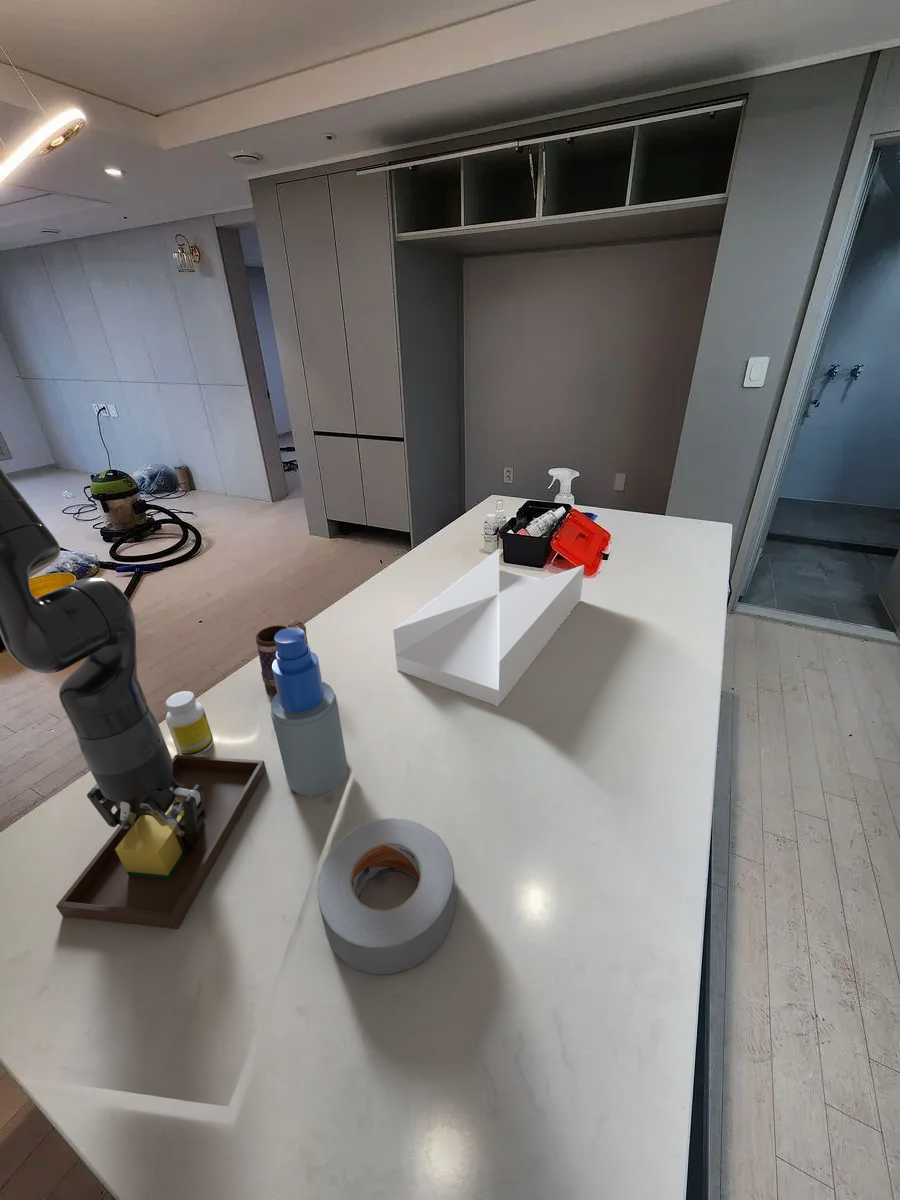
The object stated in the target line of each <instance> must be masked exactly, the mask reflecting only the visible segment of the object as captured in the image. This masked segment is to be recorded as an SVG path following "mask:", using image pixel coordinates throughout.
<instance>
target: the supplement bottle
mask: <svg viewBox="0 0 900 1200" xmlns="http://www.w3.org/2000/svg"><path fill="white" fill-rule="evenodd" d="M165 706H166V709H167V713H166V715H165V721H166V724H167V728H168V729H169V732H170V735H171V738H172V740H173V744H174V746H175V749H176V752H177V754H178V755H185V756H198V755H200V754H202V753H204V752H205V751H207V750H210V748H211V747H212V746H213V743H214V736H213V733H212V731H211V727H210V724H209V720H208V718H207V715H206V712H205V709H204V706H203V705H202V704H201V703H200V702H198V701H197V700H196V696H195V694H194V693H193V692H192V691H189V690H183V691H178V692H175V693H173V694H171V695H170V696H169V697H168V698H167V699H166V701H165Z"/></svg>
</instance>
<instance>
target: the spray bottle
mask: <svg viewBox="0 0 900 1200" xmlns="http://www.w3.org/2000/svg"><path fill="white" fill-rule="evenodd" d="M274 639H275V644H276V648H277V651H276V660H275V661H274V662H273V664H272V671H273V675H274V680H275V684H276V688H277V694H276V695H275V696H274V695H273V697H272V700H271V703H270V716H271V721H272V725H273V730H274V733H275V737H276V741H277V745H278V750H279V754H280V757H281V761H282V765H283V769H284V773H285V778H286V781H287V784H288V786H289V789H291V790H292V791H293V792H295V794H299V795H302V796H307V797H309V796H310V797H315V796H319V795H324V794H327V793H328V792H330V791H332V790H334V789H336V787H338V786H339V785H340V784H341V783H342V782H343V780H344V779H345V778H346V776H347V773H348V770H349V769H348V760H347V753H346V748H345V743H344V742H345V741H344V736H343V730H342V724H341V723H342V722H341V718H340V717H341V716H340V711H339V706H338V705H339V704H338V700H337V695H336V693H335V691H334V689H333V688H332V686H331V685H329V684H328V683H326V682H325V681H323V678H322V674H321V672H322V671H321V668H320V662H319V657H318V656H317V654H316V653H315V652H313V651H311V647H310V645H309V644H308V645H307V643H306V637H305V632H304V631H303V630H302V629H300V628H299V627H295V628H286V629H282V630H280V631H279V632H277V633H276V635H275V637H274Z"/></svg>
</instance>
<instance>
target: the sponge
mask: <svg viewBox="0 0 900 1200" xmlns="http://www.w3.org/2000/svg"><path fill="white" fill-rule="evenodd" d="M172 806H173V804H172V805H171V806H170V808H169V809H168V811H167V812H166V813H165V814H166V815H167V814H168V812H169V811H170V810H171V808H172ZM182 819H183V818H182V817H181V816H180V815H178V817H177V821H178V822H179V823H180V822H181V821H182ZM203 825H204V821H203V822H202V824H201V826H200V827H199V829H198V830H197V834H198V833H199V832H200V830H201V829H202V827H203ZM115 850H116V852H117V854H118V856H119V858H120V860H121V862H122V864H123V866H124V868H125V870H126V871H127V873H128V875H129V876H140V877H150V878H161V879H170V878H171V877H172V875H173V874H174V872H175V870H176V869H177V867H178V865H179V864H180V862H181V861H182V859H183V857H184V856H185V854H184V853H182V850H181V847H180V845H179V842H178V840H177V837H176V834H175V833H174V832H173V831H172V830H171V829H170V828H169V827H168V826H164V827H163V826H161V825H160V824H159V823H158V822H157V821H156V820H155V819H154V817H153V816H149V815H142V816H140V817H139V818H138V820H137V821H136V822H135V824H134V825H133V826H132V828H131V829H130V830H129V831H128V833H127V834H126V835H125V837H124V838H123V839H122V841H121V842H120V843H119V845H118V846H117V847H116V848H115Z"/></svg>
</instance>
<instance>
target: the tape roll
mask: <svg viewBox="0 0 900 1200" xmlns="http://www.w3.org/2000/svg"><path fill="white" fill-rule="evenodd" d="M392 871H396V872H403V873H406V874H408V875H410V876H411V877H412V878H414V879H415V880H416V882H417V883H418V885H417V886H416V887H417V888H416V889H415V890H414V892H413V893H412V895H411V896H410V897H409V898H408V899H407V900H406V901H405V902H403V903H402V904H400V905H398V906H395V907H392V908H387V909H376V908H372V907H369V906H367V905H365V904H364V903H362V902H361V901H360V900H359V898H360V895H361V893H362V891H363V889H364V888H365V886H366V885H367V884H368V883H369V882H370V881H371V880H372V879H373V878H375V877H377V876H378V875H380V874H383V873H386V872H392ZM455 880H456V879H455V868H454V863H453V857H452V855H451V852H450V850H449V848H448V846H447V844H446V843H445V842H444V840H443V839H442V838H441V836H440V835H439V834H438V833H437V832H435V831H434V830H432V829H430V828H429V827H427V826H425V825H423V824H421V823H418V822H415V821H413V820H409V819H405V818H395V817H391V818H389V817H388V818H383V819H377V820H373V821H371V822H367V823H365V824H363V825H360V826H358V827H357V828H355V829H353V830H352V831H351V832H349V833H348V834H346V835H345V836H344V837H343V838H342V839H341V841H340V842H339V843H338V844H337V845H336V846H335V847H334V849H333V850H332V851H331V852H330V853H329V855H327V857H326V859H325V860H324V863H323V866H322V868H321V870H320V873H319V877H318V881H317V882H318V883H317V901H318V902H317V903H318V907H319V912H320V916H321V920H322V923H323V927H324V932H325V936H326V938H327V941H328V942H329V944H330V947H331V948H332V950H333V951H334V952H335V954H336V955H337V956H338V957H339V958H340V959H341V960H342V961H343V962H344V963H345V964H347V965H348V966H350V967H351V968H354V969H356V970H357V971H361V972H364V973H367V974H373V975H389V974H390V975H391V974H396V973H400V972H403V971H406V970H409V969H411V968H413V967H415V966H417V965H419V964H420V963H422V962H423V961H425V960H426V959H427V958H428V957H430V956H431V955H432V954H433V953H434V952H435V951H436V950H437V949H438V947H439V946H440V945H441V944H442V943H443V941H444V940H445V938H446V935H447V934H448V932H449V931H450V928H451V925H452V923H453V920H454V916H455V911H456V904H457V897H456V881H455Z"/></svg>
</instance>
